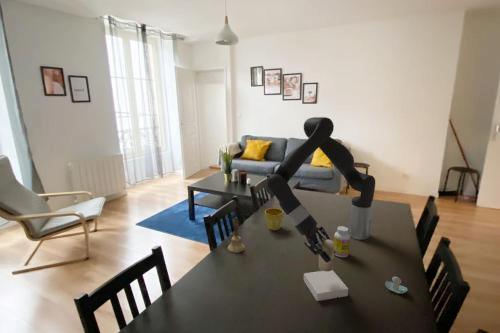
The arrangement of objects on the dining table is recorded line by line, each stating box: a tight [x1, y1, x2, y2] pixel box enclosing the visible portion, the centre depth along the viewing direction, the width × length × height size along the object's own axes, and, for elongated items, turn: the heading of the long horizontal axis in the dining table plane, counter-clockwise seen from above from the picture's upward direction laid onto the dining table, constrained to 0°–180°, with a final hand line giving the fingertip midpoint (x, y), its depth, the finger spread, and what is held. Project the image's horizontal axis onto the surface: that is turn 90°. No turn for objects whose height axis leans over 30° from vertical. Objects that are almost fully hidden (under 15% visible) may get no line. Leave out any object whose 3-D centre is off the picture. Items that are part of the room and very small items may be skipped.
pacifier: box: [384, 276, 408, 294], centre depth 104 cm, size 7×6×6 cm
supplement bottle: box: [333, 225, 351, 258], centre depth 127 cm, size 7×7×13 cm
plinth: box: [303, 270, 349, 302], centre depth 105 cm, size 12×12×3 cm
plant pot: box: [264, 207, 285, 231], centre depth 154 cm, size 10×10×10 cm
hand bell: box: [227, 216, 246, 254], centre depth 132 cm, size 8×8×16 cm
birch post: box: [318, 238, 335, 271], centre depth 102 cm, size 5×5×10 cm
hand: (331, 257), depth 102 cm, fingers closed on birch post, 5 cm apart
